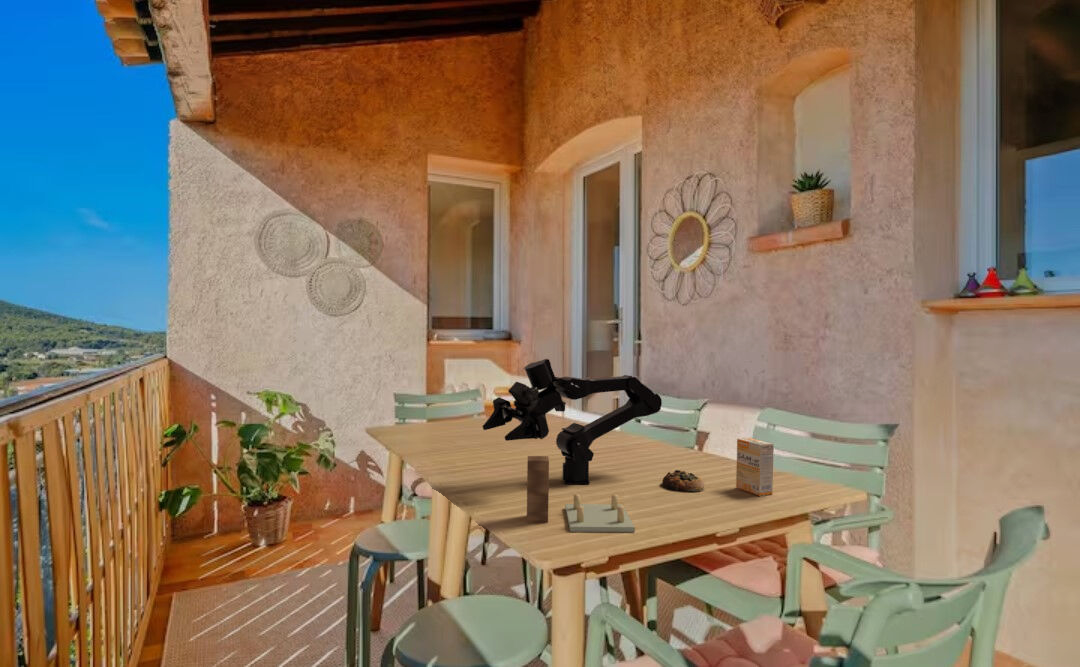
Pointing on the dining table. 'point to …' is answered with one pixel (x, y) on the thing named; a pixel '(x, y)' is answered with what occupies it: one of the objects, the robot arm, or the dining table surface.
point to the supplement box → (754, 466)
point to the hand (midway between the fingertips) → (493, 433)
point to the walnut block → (537, 489)
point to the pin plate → (598, 517)
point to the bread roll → (683, 481)
